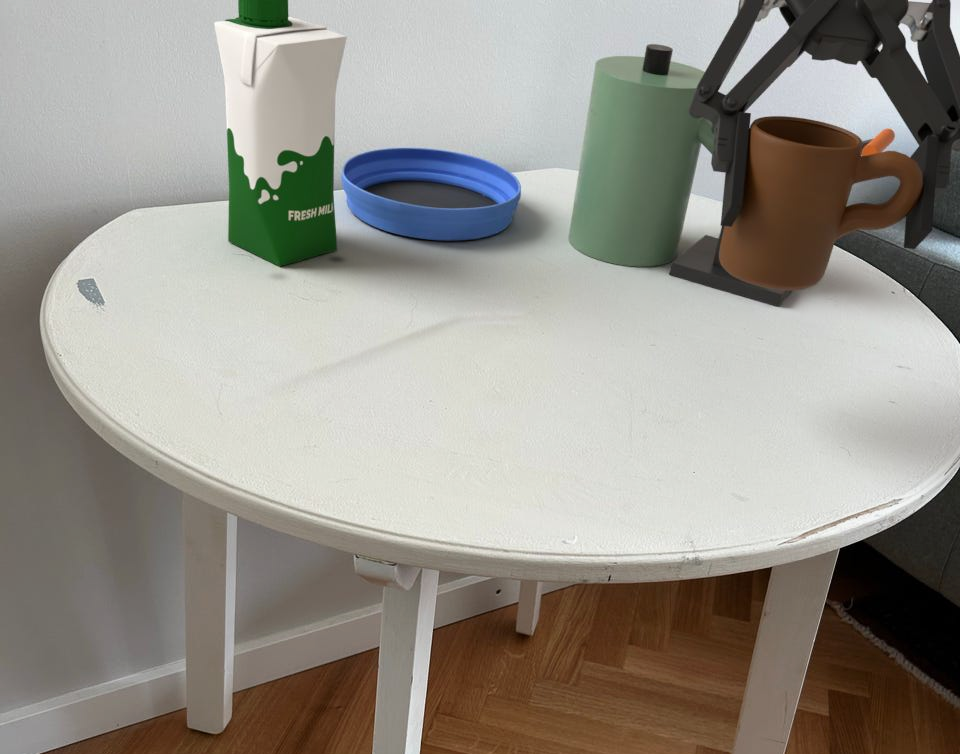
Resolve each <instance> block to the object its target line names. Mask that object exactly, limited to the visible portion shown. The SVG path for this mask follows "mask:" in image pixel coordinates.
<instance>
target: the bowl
mask: <svg viewBox="0 0 960 754" xmlns="http://www.w3.org/2000/svg"><path fill="white" fill-rule="evenodd" d="M340 180H341V184H342V189H343V191H344V193H345V195H346V205H347V207H348V209H349V210H350V212H351V213H352V214H353V215H354V216H355V217H356V218H358V219H359V220H360V221H362V222H364V223H365V224H368V225H369V226H371V227H374V228H376V229H378V230H381V231H383V232H384V231H385V232H388V233H392V234H395V235H399V236H404V237H409V238H415V239H420V240H421V239H422V240H431V241H447V242H449V241H451V242H452V241H453V242H454V241H469V240H470V241H471V240H477V239H482V238H486V237H490V236H494V235H496V234H499V233H501V232H502V231H504V230H505V229H506V228H507V227H509V225H510V224H511V223H512V221H513V216H514V213H515V211H516V210H517V208H518V206H519V202H520V200H521V197H522V185H521V182H520V180H519V179H518V178H517V177H516V175H515V174H513V173H512V172H511V171H510V170H508V169H507V168H505V167H503V166H501V165H499V164H497V163H494V162H492V161H489V160H486V159H484V158H481V157H478V156H474V155H470V154H465V153H462V152H456V151H451V150H445V149H436V148H425V147H389V148H379V149H374V150H368V151H364V152H361V153H358V154H356V155H354V156H352V157H350V158H349V159H347V160H346V161H345V162H344V164H343V165H342V168H341V177H340Z"/></svg>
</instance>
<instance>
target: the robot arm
mask: <svg viewBox="0 0 960 754" xmlns="http://www.w3.org/2000/svg"><path fill="white" fill-rule="evenodd" d="M951 7H952V5H951V0H932V1H931V2H921V1H912V0H911V1H910V0H739V1H738V6H737V13H736V16H735V18H734V19H733V21H732V23H731V25H730V26H729V28H728V31H727V32H726V34H725V35H724V37H723V39H722V41H721V43H720V44H719V46H718V48H717V50H716V51H715V53H714V55H713V56H712V58H711V60H710V62H709V63H708V66H707V67H706V69H705V71H704V72H705V73H704V75H703V76H702V78H701V80H700V82H699V84H698V85H697V88H696V91H695V93H694V96H693V98H692V101H691V103H690V106H689V114H690V115H691V116H692V117H693V118H696V119H699V118H702V117H703V118H705V119H707V120H709V121H710V122H711V123H712V126H711V130H712V133H713V134H714V139H713V150H712V154H711V159H710V160H711V161H710V164H711V168H712V171H713V172H717V173H723V174H724V175H725V176H724V184H723V195H722V206H721V216H720V226H721V227H722V226H729V227H732V225H733V223H734V222H735V220H736V218H737V216H738V214H739V213H740V211H741V209H742V205H743V194H744V183H745V173H746V162H747V151H748V140H749V129H750V126H751V116H752V113H751V112H747V111H748V109H750V107H751V106H753V104H754V103H755V102H756V101H757V100H758V99H759V98H760V97H761V96H762V95H763V94H764V93H765V92H766V91H767V90H768V88H769V87H770V86H771V85H772V84H774V83H775V81H776V80H777V79H778V78H779V77H780V76H781V75H782V74H783V73H784V72H785V71H786V70H787V69H788V68H790V67H792V65H793V64H794V63H795V62H796V61H797V60H798V59H799V58H800V57H801V56H802V55H803V54H804V53H807V54H808V55H810V56H811V60H813V61H821V62H824V61H832V60H835V61H837V62H840V63H843V64H846V65H854V66H857V65H858V63H859V62H860V63H861V64H862V66H863V69H865V72H867V74H868V75H869V77H870V78H871V79H876V80H877V81H878V83H879V84H880V86H881V87H882V89H883V90H884V93H885V94H886V95H887V98H889V101H890V102H891V103H892V105H893V107H894V108H895V110H896V112H897V113H898V115H899V116H900V118H901V119H902V121H903V122H904V124H905V125H906V127H907V129H908V130H909V132H910V134H911V135H912V137H913V138H914V140H915V141H916V143H917V145H918V147H917V148H916V149H915V150H914V152H913V153H912V154H911V156H910V158H911V159H913V160H914V161H916V162H917V164H918V166H919V168H920V170H921V172H922V178H923V187H922V191H921V195H920V197H919V199H918V201H917V203H916V205H915V206H914V208H913V209H912V210H911V211H910V213H909V214H908V215H907V216H906V217H905V223H904V224H905V225H904V239H903V240H904V241H903V249H909V250H915V249H917V248H918V247H919V245H920V244H922V242H923V241H924V240H925V239H926V238H927V237H928V236H929V235H930V234H931V233H932V231H933V224H934V223H933V222H934V212H935V211H934V210H935V200H936V199H938V198H939V196H940V195H941V194H942V193H943V192H944V191H945V190H946V188H947V186H948V185H949V182H950V173H951V172H950V171H951V159H952V158H951V157H952V151H955V152H960V51H959V48H958V45H957V43H956V39H955V36H954V34H953V30H952V28H951ZM775 8H778V11H779V12H780V14H781V16H782V18H783V19H784V21H785V22H786V25H787V26H788V28H787V30H786V31H785V33H784V34H783V35H782V36H781V37H780V38H779V39H778V40H777V41H776V42H775V43H774V44H773V45H772V46H771V47H770V48H769V49H768V51H767V52H766V53H764V55H763V56H762V57H761V58H760V59H758V61H757V62H756V63H755V64H754V65H753V67H752V68H750V69H749V70H748V71H747V73H745V74H744V75H743V77H742V78H741V79H740V80H739V81H738V82H737V83H736V84H735V85H734V86H733V87H732V88H731V89H730V90H729V91H728V92H727V93H726V94H724V93H723V92H720V89H721V87H722V85H723V83H724V81H725V80H726V78H727V76H728V74H729V73H730V71H731V69H732V67H733V66H734V64H735V62H736V61H737V58H738V57H739V56H740V53H741V51H742V49H743V48H744V46H745V44H746V42H747V40H748V39H749V37H750V35H751V33H752V31H753V28H754V26H755V23H758V22H760V21H762V20H764V19H766V18H767V17H768V16H769V14H770V12H771V11H772V10H773V9H775ZM901 24H903V25H905V26H906V27H907V28H908V29H909V32H910V40H911V41H912V42H913V43H916V45H917V46H916V47H917V54H918V58H919V61H920V64H921V67H922V71H923V72H922V71H921V69H920V68H919V67H918V65H917V63H916V62H915V60H914V58H912V55H911V54H910V53H909V51H908V49H907V40H906V37H905V35H904V33H903V32H902V30H901V28H900V27H899V26H900V25H901ZM881 45H882V47H881ZM880 47H881V49H880V50H879V48H880ZM923 73H924V75H923Z"/></svg>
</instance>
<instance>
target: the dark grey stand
mask: <svg viewBox="0 0 960 754" xmlns="http://www.w3.org/2000/svg"><path fill="white" fill-rule="evenodd" d="M724 227H725V226H721V228H720V233H719V236H718V237H715V236H712V235H708V234H705V235H704V236H702V237H701V238H700V239H699V240H697V241H696V242H695V243H694V244H693V245H691V246H690V247H689V248H688V249H686V250H685V251H683V253H681V254H680V255H679V256H677V257H676V258H675V259H674V260H672V261H671V262H670V268H669V272H668V275H670V276H673V277H676V278H679V279H682V280H686V281H690V282H693V283H695V284H701V285H702V286H707V287H709V288H710V287H711V288H714V289H717V290H720V291H723V292H728V293H730V294H734V295H737V296H741V297H744V298H747V299H751V300H753V301H757V302H761V303H765V304H768V305H771V306H774V307H780V305H782V303H783V302H784V300H786V299H787V297H789V296H790V294H791V293H792V292H793V291H794V290H777V289H770V288H765V287H760V286H757V285H753V284H750V283H747V282H744V281H742V280H740V279H738V278H736V277H734V276H732V275H731V274H729V273H728V272H727V271H726V270H725V269H724V268H723V267H722V265H721V263H720V260H719V250H720V244H721V240H722V235H723V231H724Z"/></svg>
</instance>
